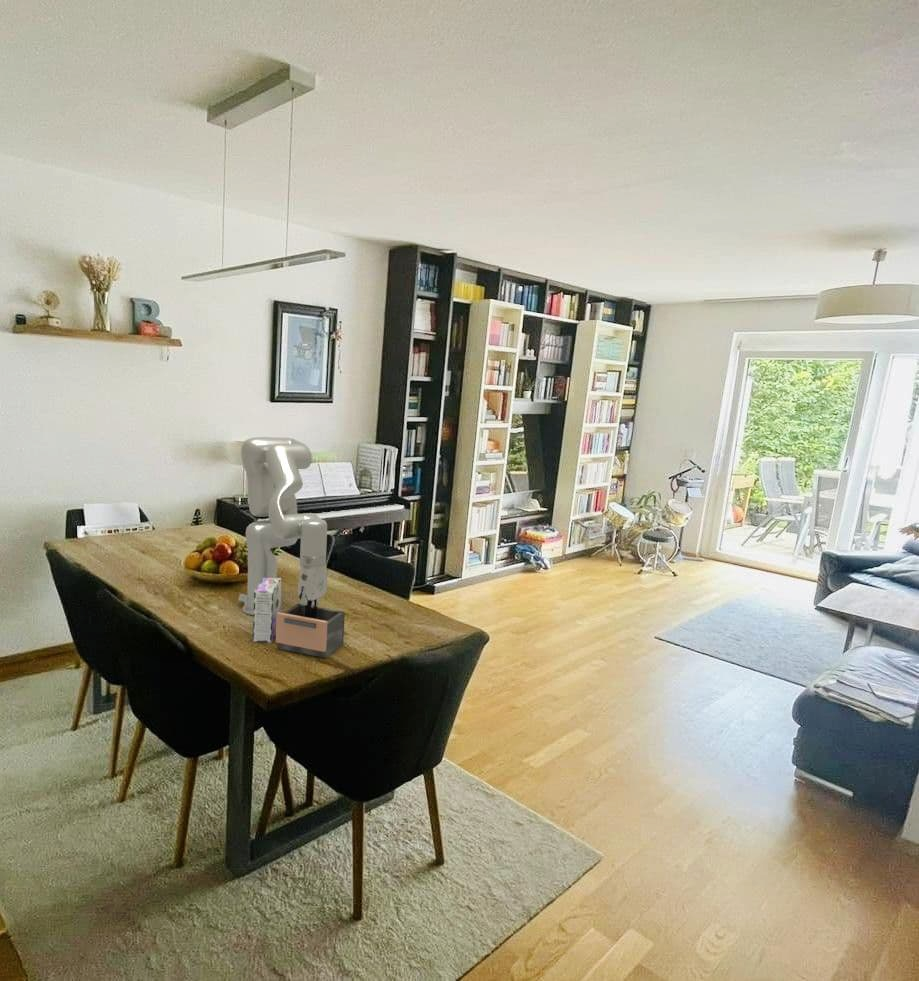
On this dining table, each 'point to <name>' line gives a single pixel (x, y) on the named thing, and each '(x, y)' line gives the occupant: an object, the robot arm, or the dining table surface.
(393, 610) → the dining table surface
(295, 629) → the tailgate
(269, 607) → the candy box
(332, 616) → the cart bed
